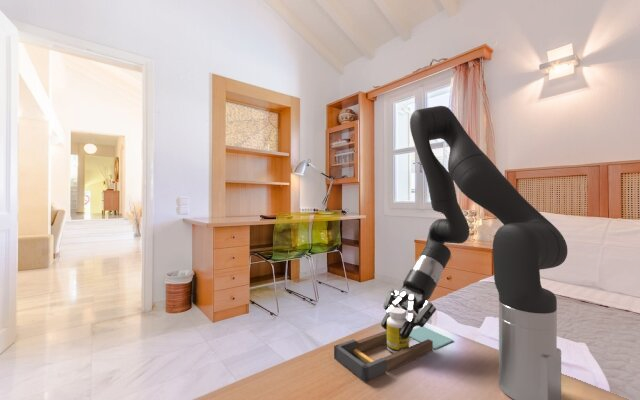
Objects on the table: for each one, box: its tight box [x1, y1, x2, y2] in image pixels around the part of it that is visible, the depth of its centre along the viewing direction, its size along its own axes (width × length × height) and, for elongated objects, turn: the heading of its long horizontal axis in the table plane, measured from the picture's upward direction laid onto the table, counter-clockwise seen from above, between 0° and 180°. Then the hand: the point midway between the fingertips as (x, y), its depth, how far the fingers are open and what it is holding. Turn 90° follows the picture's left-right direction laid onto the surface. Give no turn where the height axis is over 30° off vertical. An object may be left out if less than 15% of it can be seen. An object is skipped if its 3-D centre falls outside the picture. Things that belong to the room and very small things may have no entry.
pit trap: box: [333, 338, 387, 383], centre depth 67 cm, size 11×6×3 cm, turn 33°
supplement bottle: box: [386, 308, 410, 354], centre depth 73 cm, size 5×5×10 cm
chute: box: [356, 330, 434, 373], centre depth 73 cm, size 10×16×2 cm, turn 123°
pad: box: [409, 326, 454, 351], centre depth 80 cm, size 10×8×1 cm
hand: (392, 332), depth 72 cm, fingers closed on supplement bottle, 5 cm apart
